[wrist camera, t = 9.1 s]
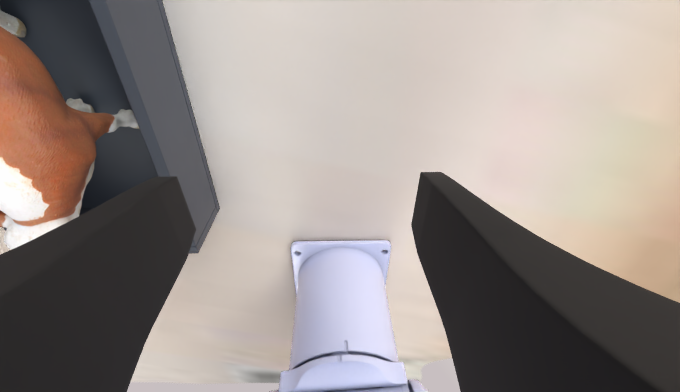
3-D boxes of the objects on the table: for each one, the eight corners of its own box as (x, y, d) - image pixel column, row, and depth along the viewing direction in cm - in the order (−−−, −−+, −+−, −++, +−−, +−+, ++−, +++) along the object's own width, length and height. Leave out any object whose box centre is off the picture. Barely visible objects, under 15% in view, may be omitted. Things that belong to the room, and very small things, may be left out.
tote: (220, 208, 22) (198, 253, 18) (77, 209, 22) (26, 256, 18) (121, -148, 12) (28, -206, 8) (-152, -156, 12) (-375, -219, 8)
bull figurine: (119, 186, 20) (16, 287, 14) (-78, -79, 12) (-543, -147, 6) (180, 175, 20) (106, 273, 13) (16, -106, 12) (-366, -212, 5)
